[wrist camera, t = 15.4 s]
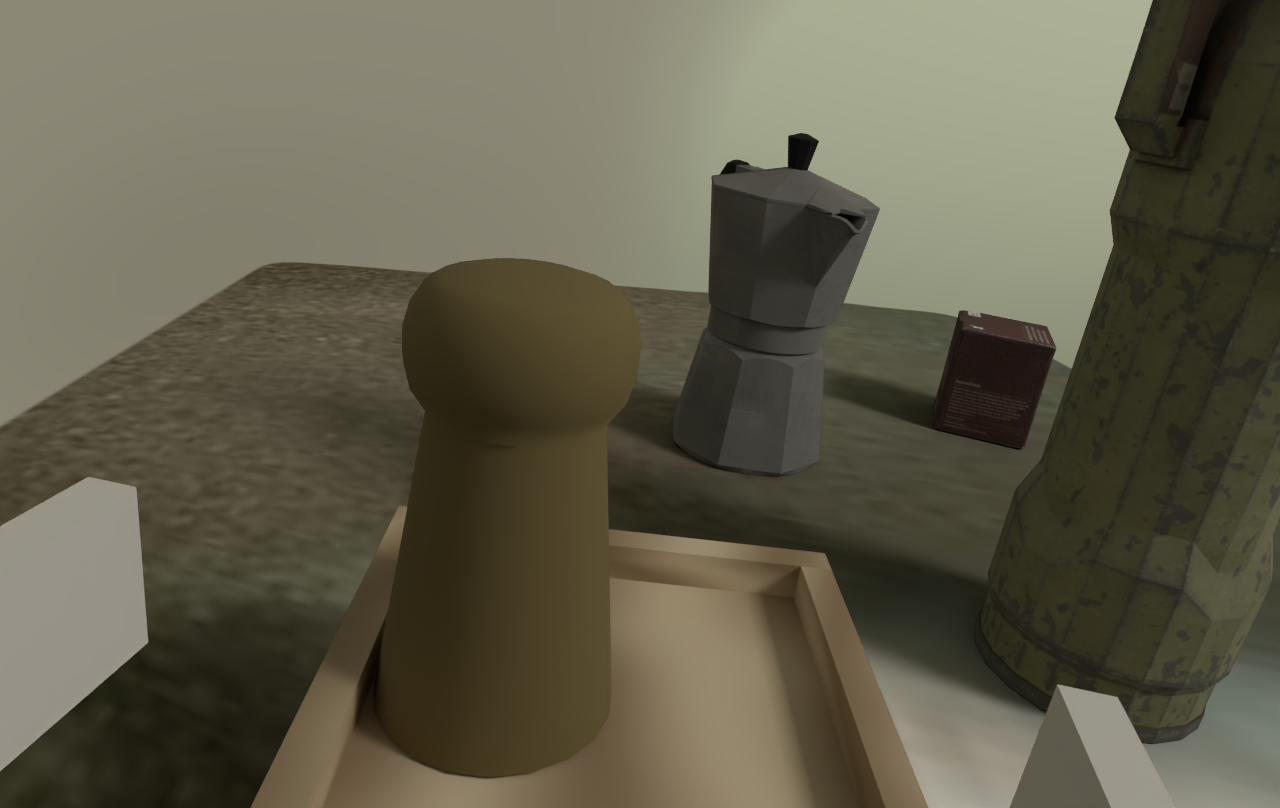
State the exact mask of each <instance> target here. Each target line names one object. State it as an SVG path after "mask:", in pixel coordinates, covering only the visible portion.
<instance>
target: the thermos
mask: <svg viewBox="0 0 1280 808" xmlns="http://www.w3.org/2000/svg"><path fill="white" fill-rule="evenodd" d="M1115 120H1116V122H1117V124H1118V126H1119V128H1120V130H1121V132H1122V134H1123V136H1124V138H1125V140H1126V142H1127V144H1128V146H1129V148H1130V151H1129V154H1128V157H1127V160H1126V163H1125V166H1124V169H1123V172H1122V176H1121V178H1120V181H1119V184H1118V187H1117V191H1116V194H1115V197H1114V200H1113V203H1112V206H1111V209H1110V216H1111V224H1112V234H1113V243H1114V245H1113V249H1112V252H1111V254H1110V257H1109V260H1108V263H1107V266H1106V269H1105V272H1104V275H1103V278H1102V281H1101V284H1100V287H1099V290H1098V293H1097V296H1096V299H1095V302H1094V305H1093V308H1092V311H1091V314H1090V317H1089V320H1088V323H1087V326H1086V329H1085V332H1084V334H1083V338H1082V341H1081V343H1080V346H1079V349H1078V352H1077V355H1076V358H1075V361H1074V364H1073V367H1072V370H1071V373H1070V376H1069V379H1068V382H1067V385H1066V388H1065V391H1064V394H1063V397H1062V400H1061V403H1060V406H1059V409H1058V412H1057V415H1056V418H1055V421H1054V424H1053V427H1052V430H1051V432H1050V435H1049V438H1048V441H1047V444H1046V447H1045V450H1044V453H1043V456H1042V459H1041V460H1040V462H1039V463H1038V464H1037V465H1036V466H1035V467H1034V469H1033V470H1032V471H1031V472H1030V473H1029V474H1028V476H1027V477H1026V478H1025V479H1024V480H1023V482H1022V483H1021V484H1020V485H1019V486H1018V487H1017V489H1016V490H1015V493H1014V496H1013V499H1012V502H1011V505H1010V508H1009V511H1008V514H1007V517H1006V520H1005V523H1004V526H1003V529H1002V532H1001V535H1000V538H999V541H998V544H997V547H996V550H995V554H994V557H993V560H992V563H991V566H990V569H989V572H988V576H989V591H988V594H987V597H986V600H985V603H984V606H983V609H982V610H981V612H980V613H979V615H978V618H977V621H976V624H975V643H976V645H977V647H978V649H979V651H980V652H981V654H982V656H983V658H984V660H985V662H986V664H987V665H988V666H989V667H990V668H991V669H992V670H993V671H994V672H995V673H996V674H997V675H998V676H999V677H1000V678H1001V679H1002V680H1003V681H1004V682H1005V683H1006V684H1007V685H1008V686H1009V687H1010V688H1012V689H1013V690H1015V691H1016V692H1017V693H1019V694H1020V695H1022V696H1023V697H1025V698H1026V699H1027V700H1029V701H1030V702H1032V703H1033V704H1034V705H1036V706H1037V707H1039V708H1040V709H1042V710H1044V711H1047V710H1048V707H1049V704H1050V702H1051V699H1052V697H1053V694H1054V691H1055V689H1056V686H1057V684H1058V685H1063V686H1068V687H1072V688H1077V689H1082V690H1086V691H1091V692H1096V693H1100V694H1105V695H1110V696H1114V697H1118V699H1119V701H1120V703H1121V704H1122V706H1123V708H1124V710H1125V712H1126V714H1127V716H1128V718H1129V720H1130V722H1131V724H1132V725H1133V727H1134V729H1135V731H1136V733H1137V735H1138V737H1139V739H1140V741H1141V742H1143V743H1150V744H1155V743H1162V742H1170V741H1177V740H1182V739H1183V738H1184V737H1186V736H1187V735H1189V734H1190V733H1192V732H1193V731H1195V730H1196V729H1198V726H1199V724H1200V722H1201V720H1202V718H1203V716H1204V711H1205V707H1206V703H1207V701H1208V699H1209V697H1210V695H1211V693H1212V690H1213V688H1214V686H1215V684H1216V683H1218V682H1219V681H1220V680H1221V679H1223V678H1224V677H1226V676H1228V675H1229V673H1230V671H1231V668H1232V666H1233V664H1234V662H1235V660H1236V658H1237V656H1238V653H1239V651H1240V649H1241V647H1242V645H1243V643H1244V641H1245V639H1246V636H1247V634H1248V632H1249V630H1250V628H1251V626H1252V624H1253V622H1254V619H1255V617H1256V615H1257V613H1258V611H1259V609H1260V607H1261V604H1262V602H1263V600H1264V598H1265V596H1266V594H1267V592H1268V590H1269V587H1270V585H1271V580H1272V573H1273V533H1274V531H1275V529H1276V526H1277V524H1278V522H1279V520H1280V0H1153V2H1152V5H1151V8H1150V11H1149V14H1148V17H1147V20H1146V23H1145V27H1144V30H1143V33H1142V36H1141V39H1140V42H1139V45H1138V49H1137V52H1136V55H1135V58H1134V61H1133V64H1132V67H1131V70H1130V73H1129V76H1128V79H1127V82H1126V85H1125V88H1124V91H1123V94H1122V97H1121V100H1120V103H1119V106H1118V109H1117V112H1116V115H1115Z"/></svg>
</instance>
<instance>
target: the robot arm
mask: <svg viewBox="0 0 1280 808" xmlns="http://www.w3.org/2000/svg"><path fill="white" fill-rule="evenodd" d="M147 643H148V633H147V620H146V607H145V594H144V581H143V568H142V555H141V543H140V530H139V517H138V504H137V491H136V487H133V486H129V485H124V484H119V483H115V482H110V481H105V480H101V479H96V478H91V477H87V478H86V479H84V480H82V481H80V482H78V483H77V484H75V485H73V486H71V487H69V488H68V489H66V490H64V491H62V492H61V493H59V494H57V495H55V496H53V497H52V498H50V499H48V500H46V501H44V502H43V503H41V504H39V505H37V506H36V507H34V508H32V509H30V510H28V511H27V512H25V513H23V514H21V515H20V516H18V517H16V518H14V519H12V520H11V521H9V522H7V523H5V524H3V525H2V526H0V771H1V770H2V769H3V768H4V767H6V766H7V765H8V764H9V763H10V762H11V761H13V760H14V759H15V758H16V757H17V756H18V755H19V754H21V753H22V752H23V751H24V750H25V749H26V748H27V747H29V746H30V745H31V744H32V743H33V742H34V741H36V740H37V739H38V738H39V737H40V736H41V735H42V734H44V733H45V732H46V731H47V730H48V729H49V728H50V727H52V726H53V725H54V724H55V723H56V722H57V721H59V720H60V719H61V718H62V717H63V716H64V715H65V714H67V713H68V712H69V711H70V710H71V709H72V708H73V707H75V706H76V705H77V704H78V703H79V702H80V701H82V700H83V699H84V698H85V697H86V696H87V695H88V694H90V693H91V692H92V691H93V690H94V689H95V688H97V687H98V686H99V685H100V684H101V683H102V682H103V681H105V680H106V679H107V678H108V677H109V676H110V675H111V674H113V673H114V672H115V671H116V670H117V669H118V668H120V667H121V666H122V665H123V664H124V663H125V662H126V661H128V660H129V659H130V658H131V657H132V656H133V655H134V654H136V653H137V652H138V651H139V650H140V649H141V648H143V647H144V646H145V645H146V644H147ZM1010 808H1176V807H1175V805H1174V804H1173V802H1172V800H1171V798H1170V796H1169V794H1168V792H1167V790H1166V788H1165V786H1164V784H1163V783H1162V781H1161V779H1160V777H1159V775H1158V773H1157V771H1156V769H1155V767H1154V765H1153V764H1152V762H1151V760H1150V758H1149V756H1148V754H1147V752H1146V750H1145V748H1144V746H1143V744H1142V743H1141V741H1140V739H1139V737H1138V735H1137V733H1136V731H1135V729H1134V727H1133V725H1132V724H1131V722H1130V720H1129V718H1128V716H1127V714H1126V712H1125V710H1124V708H1123V706H1122V704H1121V703H1120V701H1119V699H1118V697H1114V696H1110V695H1105V694H1100V693H1096V692H1091V691H1086V690H1082V689H1077V688H1072V687H1068V686H1063V685H1058V684H1057V686H1056V689H1055V691H1054V694H1053V697H1052V699H1051V702H1050V704H1049V707H1048V710H1047V712H1046V715H1045V717H1044V720H1043V723H1042V725H1041V728H1040V730H1039V733H1038V736H1037V738H1036V741H1035V743H1034V746H1033V749H1032V751H1031V754H1030V757H1029V759H1028V762H1027V764H1026V767H1025V770H1024V772H1023V775H1022V777H1021V780H1020V783H1019V785H1018V788H1017V790H1016V793H1015V796H1014V798H1013V801H1012V803H1011V806H1010Z"/></svg>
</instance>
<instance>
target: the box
mask: <svg viewBox="0 0 1280 808" xmlns="http://www.w3.org/2000/svg"><path fill="white" fill-rule="evenodd" d="M1055 351H1056V346H1055V344H1054V341H1053V339H1052V337H1051V335H1050V332H1049V330H1048V328H1047V327H1046V326H1042V325H1037V324H1032V323H1027V322H1022V321H1017V320H1012V319H1007V318H1002V317H997V316H992V315H987V314H983V313H977V312H971V311H959V315H958V319H957V322H956V326H955V330H954V334H953V338H952V341H951V345H950V348H949V352H948V356H947V359H946V363H945V367H944V371H943V375H942V378H941V382H940V386H939V389H938V392H937V396H936V399H935V401H934V428H936V429H939V430H943V431H947V432H951V433H955V434H959V435H964V436H969V437H973V438H977V439H981V440H986V441H990V442H994V443H998V444H1002V445H1005V446H1010V447H1014V448H1021V449H1022V448H1024V447H1025V443H1026V440H1027V437H1028V434H1029V431H1030V428H1031V425H1032V422H1033V419H1034V415H1035V412H1036V409H1037V406H1038V403H1039V400H1040V396H1041V393H1042V390H1043V387H1044V384H1045V381H1046V378H1047V374H1048V371H1049V368H1050V365H1051V361H1052V359H1053V356H1054V353H1055Z"/></svg>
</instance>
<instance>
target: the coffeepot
mask: <svg viewBox="0 0 1280 808" xmlns="http://www.w3.org/2000/svg"><path fill="white" fill-rule="evenodd" d="M788 137H789V138H788V167H783V168H775V169H766V170H765V169H762V168H759V167H754V166H751V165H749V164H748V163H747V162H744V161H741V160H732V161H731V162H728V163H727V164H726V166H725V167H724V169H723V170H722V172H721V174H720V175H714V176H712V196H711V197H712V198H711V200H712V201H711V228H710V260H709V261H710V262H709V302H710V304H711V310H710V315H709V320H708V326H707V328H705V329H704V330H703V333H702V336H701V338H700V341H699V344H698V347H697V350H696V353H695V356H694V359H693V361H692V364H691V367H690V370H689V373H688V376H687V379H686V382H685V384H684V387H683V390H682V393H681V396H680V399H679V402H678V405H677V407H676V410H675V413H674V416H673V431H672V434H673V441H674V442H675V443H676V444H677V445H678V446H679V447H681V448H682V449H683V450H684V451H685V452H687V453H688V454H690V455H691V456H693V457H694V458H697V459H699V460H701V461H703V462H705V463H707V464H710V465H713V466H715V467H718V468H722V469H725V470H729V471H733V472H738V473H743V474H749V475H759V476H782V475H790V474H794V473H798V472H801V471H803V470H805V469H807V468H808V467H809V466H810V465H812V464H813V463H816V462H818V461H819V452H820V434H821V415H822V396H823V378H824V355H823V351H822V347H823V343H824V338H825V333H826V329H827V325H829V324H832V323H834V322H836V320H837V318H838V315H839V313H840V310H841V307H842V305H843V302H844V300H845V297H846V294H847V292H848V290H849V287H850V284H851V282H852V279H853V277H854V274H855V272H856V269H857V266H858V264H859V261H860V259H861V256H862V254H863V251H864V249H865V246H866V243H867V241H868V238H869V236H870V233H871V231H872V228H873V226H874V223H875V220H876V218H877V215H878V213H879V210H880V208H878V207H877V206H875V205H874V204H873V203H872V202H870V201H869V200H867V199H866V198H864V197H862V196H860V195H858V194H856V193H854V192H851V191H849V190H847V189H845V188H843V187H841V186H839V185H837V184H835V183H833V182H831V181H829V180H827V179H825V178H823V177H820V176H818V175H816V174H814V173H812V172H810V171H808V167H809V165H810V162H811V160H812V157H813V155H814V152H815V150H816V147H817V145H818V142H819V141H818V140H816V139H815V138H813V137H811V136H810V135H808V134H803V133H799V134H795V135H790V136H788Z"/></svg>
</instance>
